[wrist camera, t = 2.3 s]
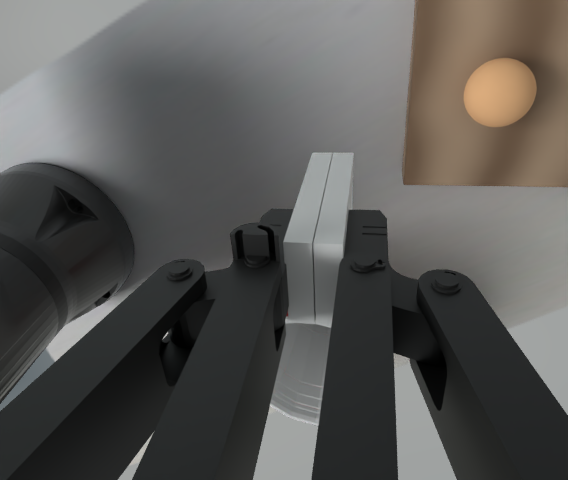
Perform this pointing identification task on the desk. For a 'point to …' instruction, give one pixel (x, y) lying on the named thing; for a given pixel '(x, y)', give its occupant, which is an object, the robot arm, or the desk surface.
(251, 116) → the desk surface
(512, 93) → the ball
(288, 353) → the plastic cup
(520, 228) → the desk surface
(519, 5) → the board
